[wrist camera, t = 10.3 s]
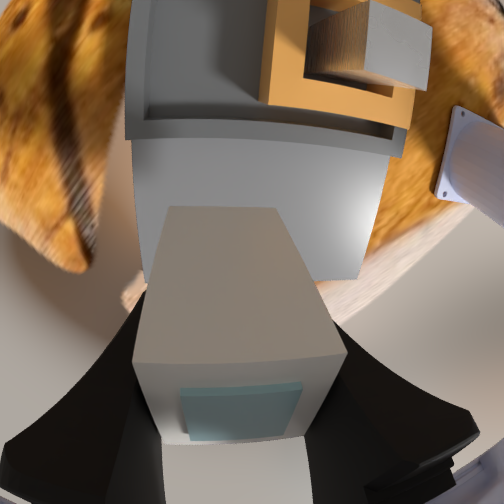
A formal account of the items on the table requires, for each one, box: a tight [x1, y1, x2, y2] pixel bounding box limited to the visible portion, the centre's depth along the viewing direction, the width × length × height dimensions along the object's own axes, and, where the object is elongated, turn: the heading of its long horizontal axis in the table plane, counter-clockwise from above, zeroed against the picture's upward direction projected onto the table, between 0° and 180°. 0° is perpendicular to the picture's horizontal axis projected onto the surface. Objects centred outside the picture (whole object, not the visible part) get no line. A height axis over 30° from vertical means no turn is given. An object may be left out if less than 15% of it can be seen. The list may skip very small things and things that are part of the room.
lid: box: [131, 138, 390, 283], centre depth 19 cm, size 16×11×1 cm, turn 85°
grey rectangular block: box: [305, 0, 432, 91], centre depth 11 cm, size 3×3×7 cm
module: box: [132, 206, 348, 445], centre depth 9 cm, size 4×4×7 cm
